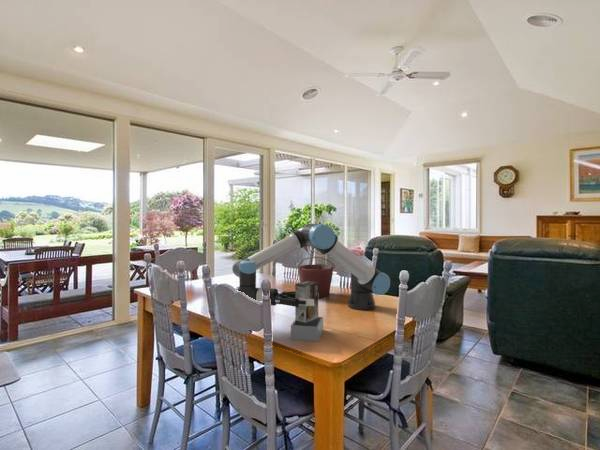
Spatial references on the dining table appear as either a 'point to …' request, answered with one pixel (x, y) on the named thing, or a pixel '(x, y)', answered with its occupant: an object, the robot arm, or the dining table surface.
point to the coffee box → (306, 292)
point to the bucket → (317, 275)
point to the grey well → (307, 330)
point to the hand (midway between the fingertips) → (316, 299)
